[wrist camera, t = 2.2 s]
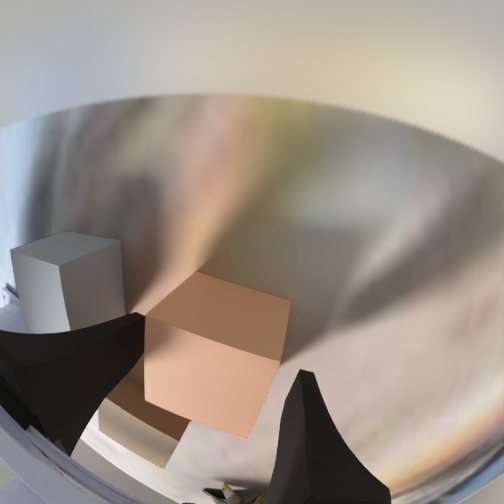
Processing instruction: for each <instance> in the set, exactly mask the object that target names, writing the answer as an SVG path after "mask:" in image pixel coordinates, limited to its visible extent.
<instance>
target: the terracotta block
mask: <svg viewBox="0 0 504 504" xmlns="http://www.w3.org/2000/svg"><path fill="white" fill-rule="evenodd" d="M290 307H291V300H288V299H285V298H281V297H278V296H274V295H271V294H268V293H264V292H261V291H258V290H254V289H251V288H248V287H244V286H241V285H238V284H235V283H231V282H228V281H225V280H222V279H219V278H216V277H212V276H209V275H206V274H203V273H200V272H197V271H196V272H194V273H193V274H192V275H191V276H190V277H189V278H187V279H186V280H185V281H184V282H183V283H182V284H180V285H179V286H178V287H177V288H176V289H175V290H173V291H172V292H171V293H170V294H169V295H168V296H166V297H165V298H164V299H163V300H162V301H161V302H160V303H158V304H157V305H156V306H155V307H154V308H153V309H151V310H150V311H149V312H148V313H147V314H146V317H145V347H144V382H145V400H146V401H148V402H150V403H152V404H154V405H156V406H159V407H161V408H163V409H165V410H168V411H170V412H172V413H175V414H177V415H180V416H182V417H184V418H187V419H190V420H192V421H195V422H197V423H200V424H203V425H206V426H208V427H211V428H214V429H217V430H220V431H223V432H226V433H229V434H233V435H236V436H239V437H243V438H246V439H248V437H249V435H250V432H251V430H252V428H253V426H254V424H255V421H256V419H257V417H258V415H259V412H260V410H261V408H262V406H263V403H264V401H265V399H266V396H267V394H268V392H269V389H270V387H271V384H272V382H273V380H274V377H275V375H276V372H277V370H278V367H279V365H280V362H281V358H282V352H283V347H284V341H285V336H286V330H287V325H288V319H289V313H290Z"/></svg>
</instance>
